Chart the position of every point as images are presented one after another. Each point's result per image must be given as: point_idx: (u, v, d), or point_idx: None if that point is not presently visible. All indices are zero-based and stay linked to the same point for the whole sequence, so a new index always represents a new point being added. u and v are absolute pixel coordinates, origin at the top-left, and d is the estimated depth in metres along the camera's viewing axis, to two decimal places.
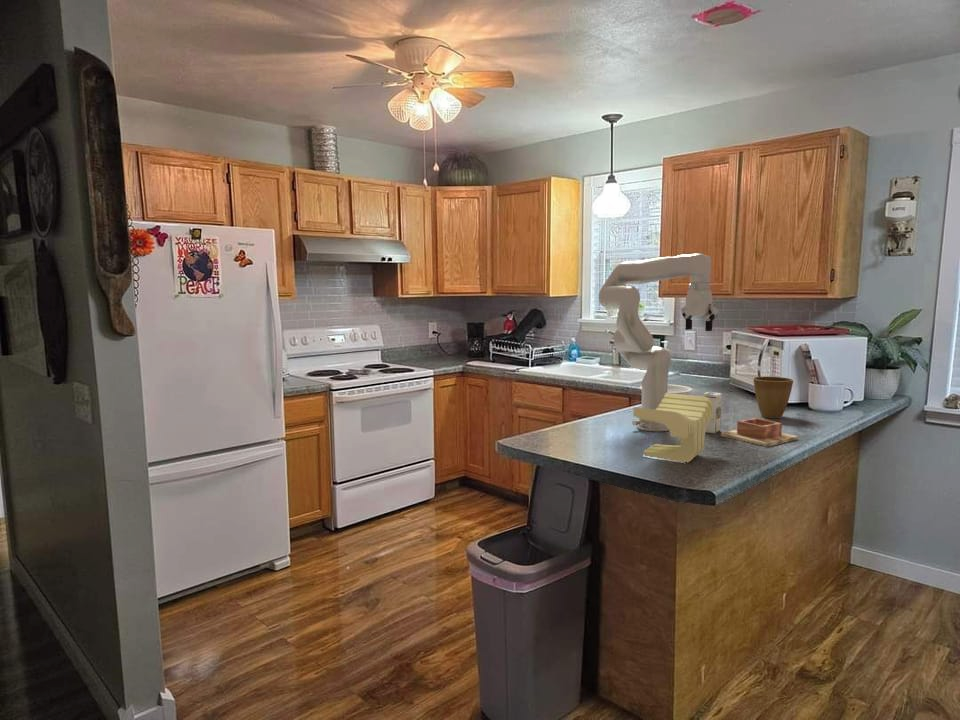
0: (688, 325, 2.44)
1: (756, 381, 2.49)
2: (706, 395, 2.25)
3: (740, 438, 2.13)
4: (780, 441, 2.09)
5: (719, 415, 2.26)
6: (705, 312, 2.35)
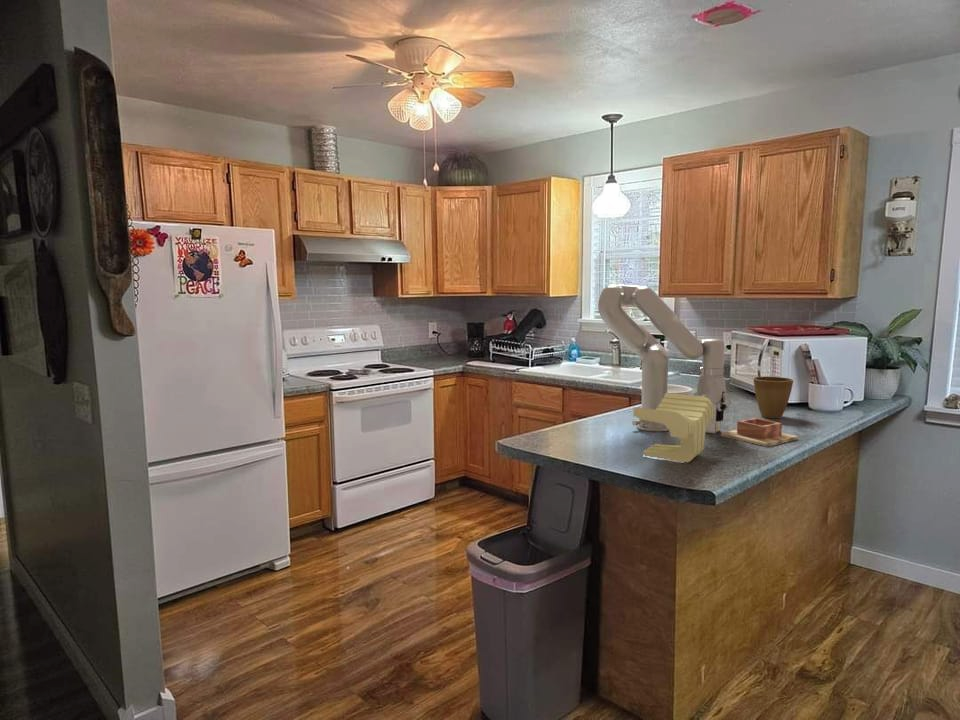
0: None
1: (756, 381, 2.49)
2: (706, 395, 2.25)
3: (740, 438, 2.13)
4: (780, 441, 2.09)
5: None
6: (718, 400, 2.21)
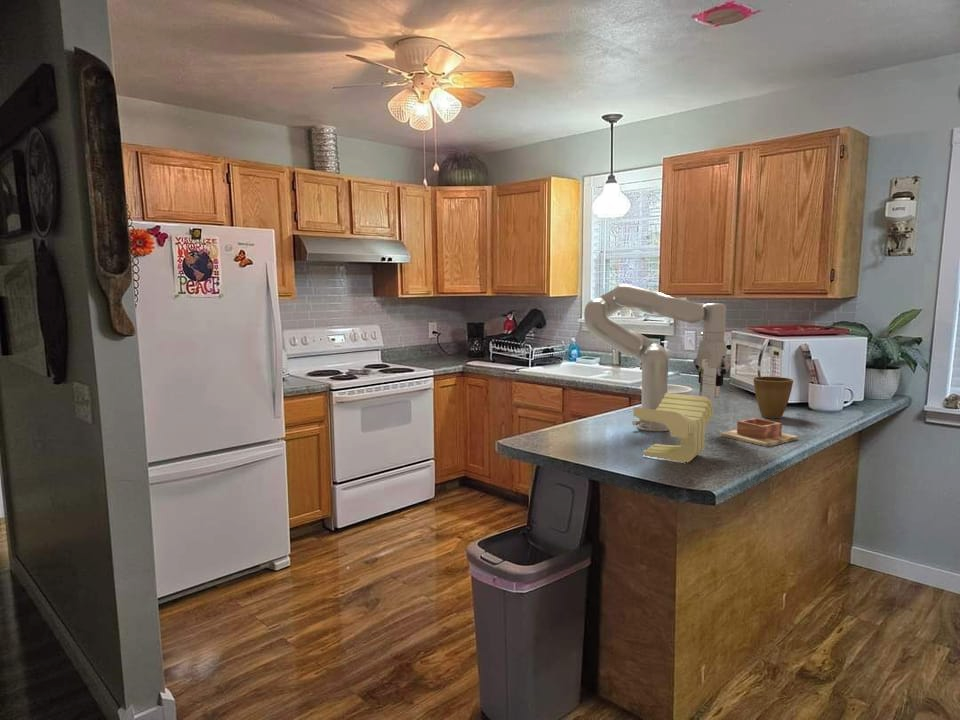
0: None
1: (756, 381, 2.49)
2: (706, 360, 2.23)
3: (740, 438, 2.13)
4: (780, 441, 2.09)
5: None
6: (718, 365, 2.19)
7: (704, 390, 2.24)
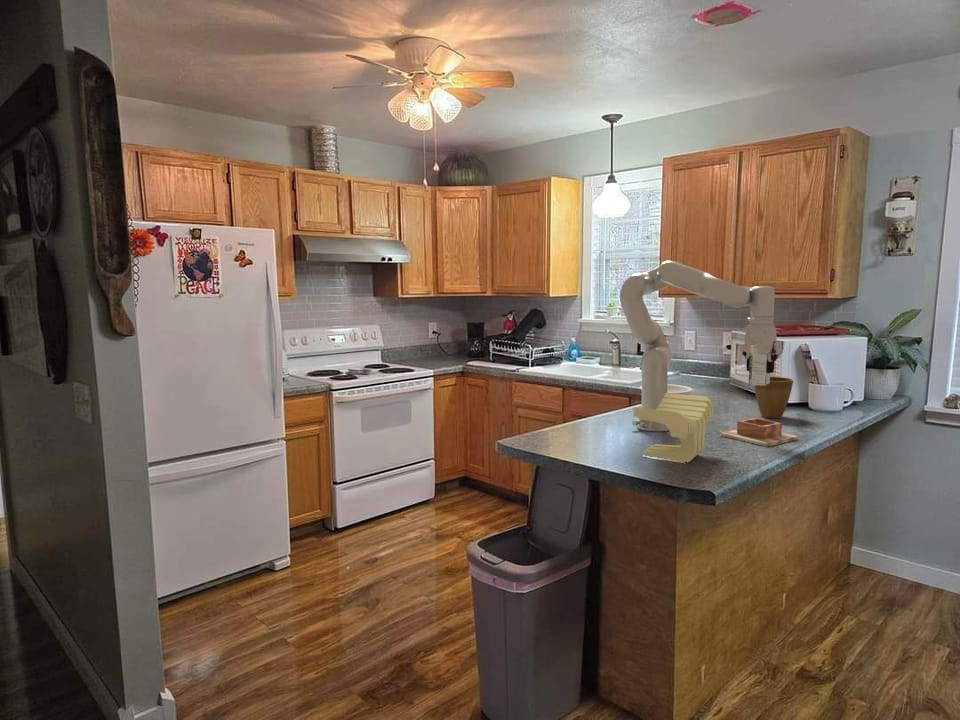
0: None
1: None
2: (755, 346, 2.12)
3: (740, 438, 2.13)
4: (780, 441, 2.09)
5: None
6: (769, 350, 2.08)
7: (753, 377, 2.13)
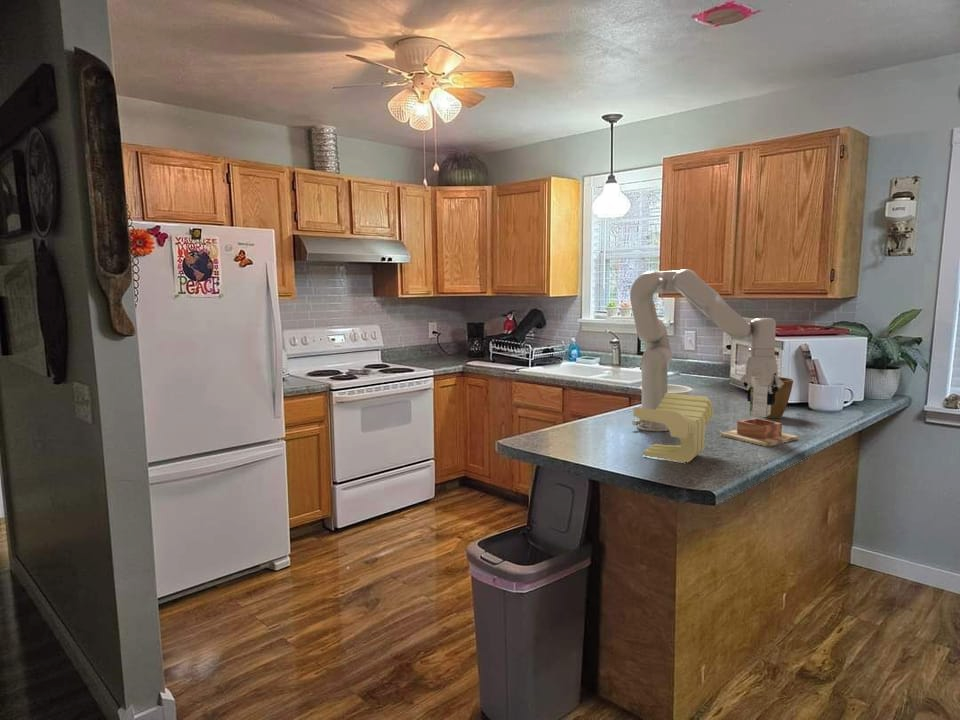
0: None
1: None
2: (756, 377, 2.13)
3: (740, 438, 2.13)
4: (780, 441, 2.09)
5: None
6: (770, 383, 2.09)
7: (754, 408, 2.14)
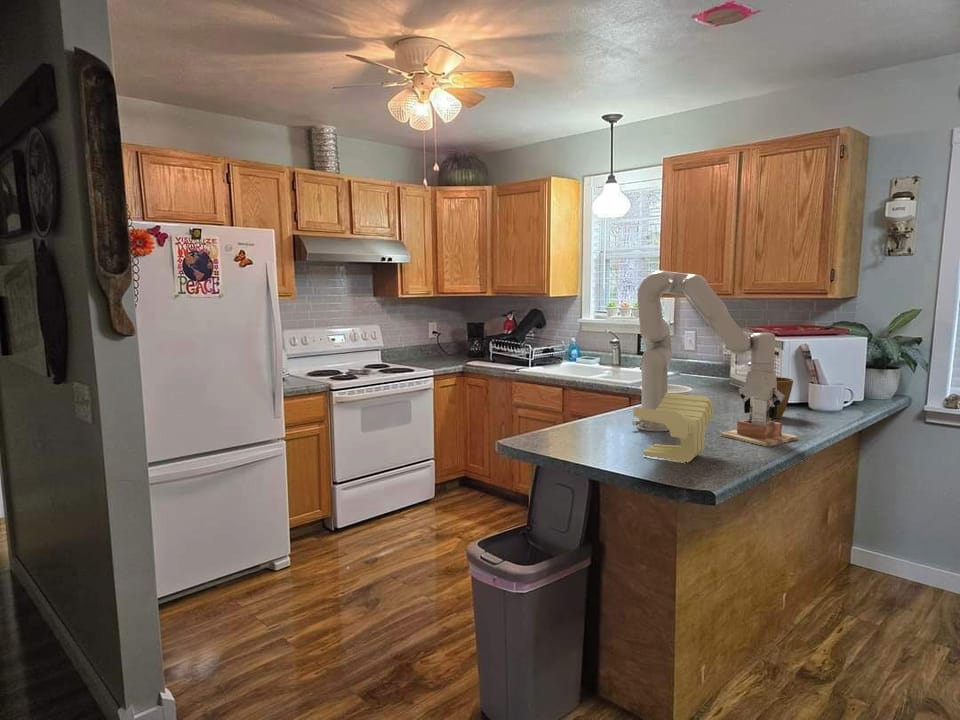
0: (747, 408, 2.19)
1: None
2: (755, 397, 2.14)
3: (740, 438, 2.13)
4: (780, 441, 2.09)
5: (769, 418, 2.15)
6: (769, 397, 2.10)
7: None
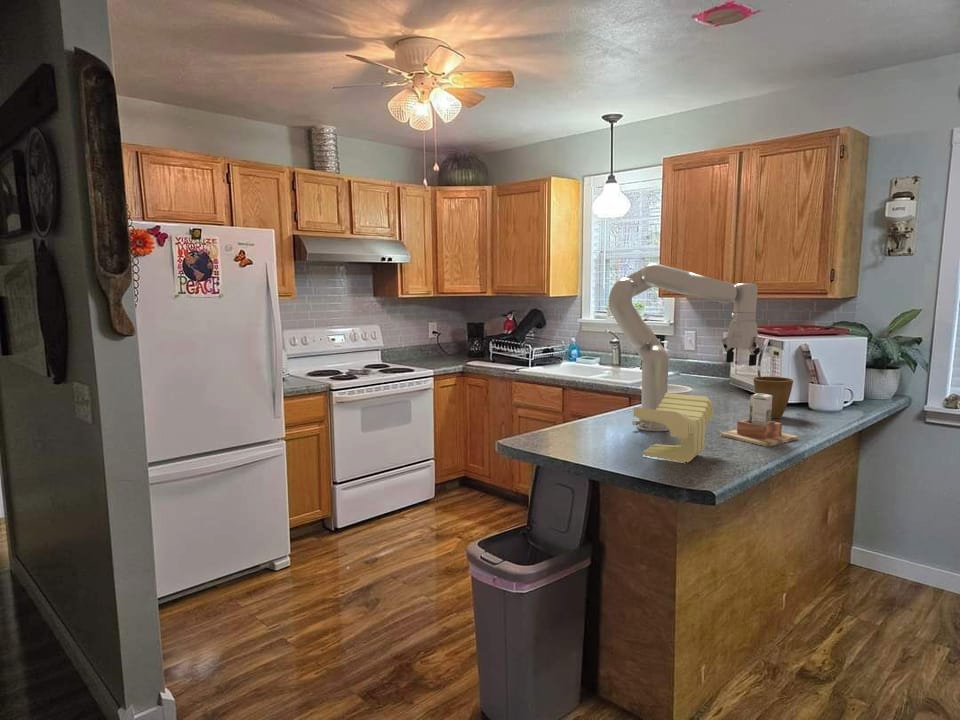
0: (729, 358, 2.26)
1: (756, 381, 2.49)
2: (755, 397, 2.14)
3: (740, 438, 2.13)
4: (780, 441, 2.09)
5: (769, 418, 2.15)
6: (749, 345, 2.17)
7: None
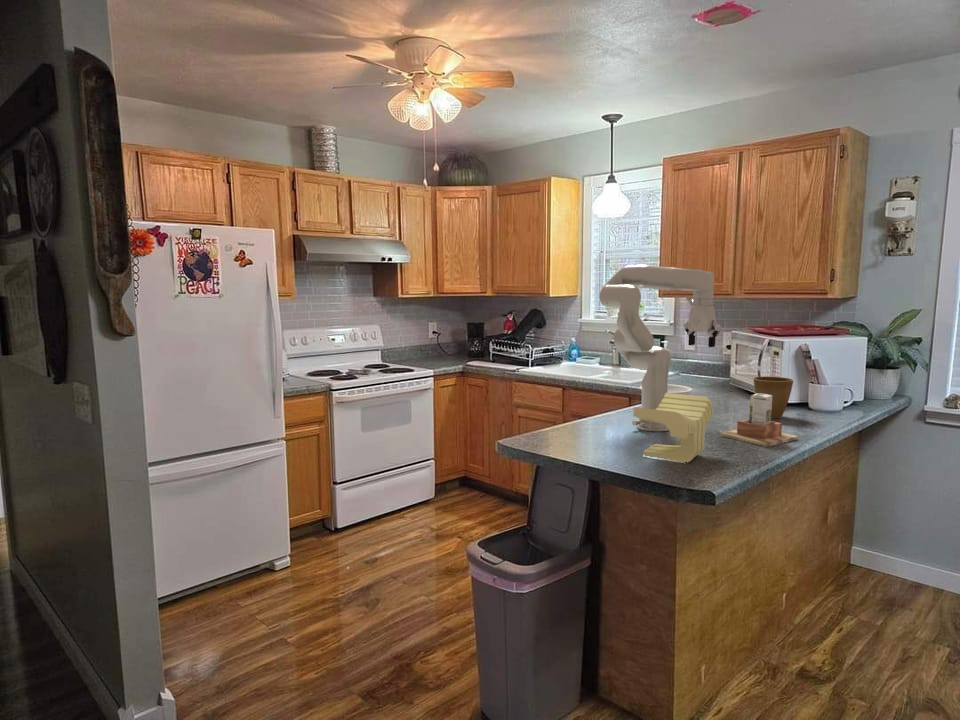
0: (691, 341, 2.46)
1: (756, 381, 2.49)
2: (755, 397, 2.14)
3: (740, 438, 2.13)
4: (780, 441, 2.09)
5: (769, 418, 2.15)
6: (708, 328, 2.37)
7: None
